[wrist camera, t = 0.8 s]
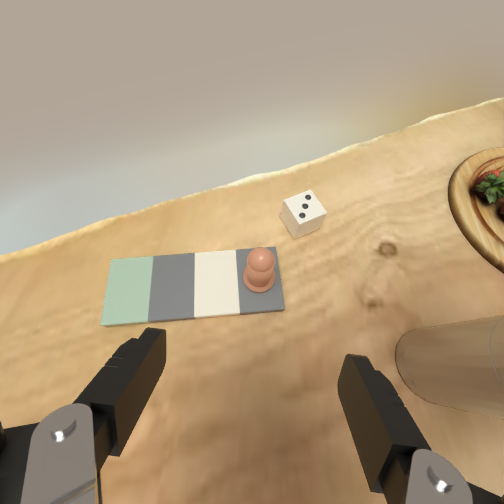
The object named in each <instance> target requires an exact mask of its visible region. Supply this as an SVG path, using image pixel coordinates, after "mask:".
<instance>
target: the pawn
mask: <svg viewBox="0 0 504 504" xmlns="http://www.w3.org/2000/svg"><path fill="white" fill-rule="evenodd" d="M274 266H275V256H274V254H273V253H272V252H271V251H270V250H269V249H267V248H263V247H259V248H255V249H253V250H251V251H250V252H249V254H248V256H247V266H246V268H245V269H244V272H243V281H244V284H245V286H246V287H247V288H248V289H249V290H250V291H252V292H254V293H264V292H267V291H268V290H269V289H271V287H272V286H273V284H274V281H275V272H274Z"/></svg>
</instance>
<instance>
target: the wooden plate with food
mask: <svg viewBox="0 0 504 504" xmlns="http://www.w3.org/2000/svg"><path fill="white" fill-rule="evenodd" d="M448 196H449V204H450V208H451V211H452V214H453V216H454V219H455V221H456V223H457V225H458V226H459V228H460V230H461V231H462V233H463V234H464V236H465V237H466V239H467V240H468V241H469V242H470V243H471V245H472V246H473V247H474V248H475V249H476V250H477V251H478V252H479V253H480V254H481V255H482V256H483V257H484V258H485V259H486V260H487V261H489V262H490V263H491V264H492V265H493V266H495V267H496V268H497V269H499V270H500V271H502V272H503V273H504V147H499V148H493V149H488V150H484V151H481V152H479V153H476V154H474V155H472V156H470V157H468V158H467V159H466V160H464V161H463V162H462V163H461V164H460V165H459V166H458V167H457V169H456V170H455V172H454V173H453V175H452V177H451V179H450V183H449V191H448Z"/></svg>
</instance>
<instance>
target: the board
mask: <svg viewBox="0 0 504 504" xmlns="http://www.w3.org/2000/svg"><path fill="white" fill-rule="evenodd" d="M266 248H267V249H269V250H270V251H271V252H272V253H273V254H274V256H275V266H274V272H275V281H274V284H273V286H272V287H271V289H269V290H268V291H267V292H264V293H254V292H252V291H250V290H249V289H248V288H247V287H246V286H245V284H244V281H243V272H244V269H245V268H246V266H247V256H248V254H249V252H250V251H251V250H253V249H255V248H253V249H240V250H227V251H214V252H201V253H188V254H175V255H162V256H149V257H136V258H123V259H111V264H110V270H109V276H108V282H107V287H106V293H105V299H104V305H103V311H102V317H101V323H100V326H105V327H110V326H121V325H132V324H143V323H154V322H165V321H176V320H187V319H198V318H210V317H221V316H232V315H243V314H254V313H265V312H276V311H284V309H285V307H284V300H283V293H282V286H281V279H280V273H279V266H278V259H277V252H276V247H266Z"/></svg>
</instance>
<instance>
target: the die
mask: <svg viewBox="0 0 504 504" xmlns="http://www.w3.org/2000/svg"><path fill="white" fill-rule="evenodd" d="M326 214H327V212H326V211H325V209H324V208H323V206H322V205H321V203H320V202H319V201H318V199H317V198H316V196H315V195H314V194H313V192H312V191H311V190H308V191H306V192H303V193H300V194H298V195H295V196H293V197H290V198H288V199H285V200H284V201H283V206H282V210H281V215H280V218H281V220H282V221H283V223H284V224H285V226H286V228H287V229H288V231H289V233H290V234H291V236H292V238H293V239H296V238H299V237H301V236H303V235H306V234H308V233H310V232H313V231H315V230H317V229H319V227H320V225H321V223H322V222H323V220H324V218H325V216H326Z"/></svg>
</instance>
